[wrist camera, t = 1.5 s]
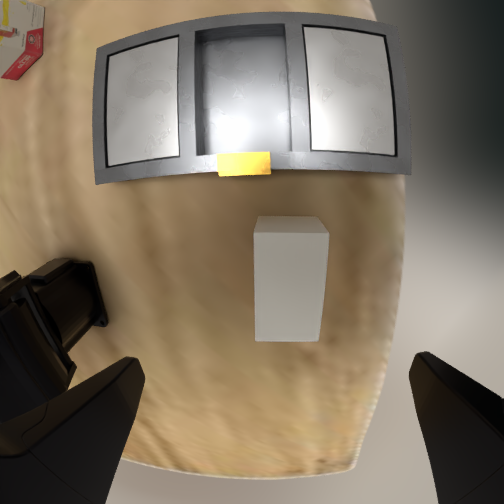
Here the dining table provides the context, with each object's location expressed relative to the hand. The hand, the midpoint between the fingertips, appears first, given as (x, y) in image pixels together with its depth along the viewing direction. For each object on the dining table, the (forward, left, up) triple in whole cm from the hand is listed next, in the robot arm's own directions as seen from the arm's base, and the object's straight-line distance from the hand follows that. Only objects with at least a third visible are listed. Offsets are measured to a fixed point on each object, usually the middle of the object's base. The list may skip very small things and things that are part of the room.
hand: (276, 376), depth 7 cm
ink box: (+24, +25, -13) cm, 37 cm away
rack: (+11, +2, -12) cm, 16 cm away
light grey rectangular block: (-1, -1, -12) cm, 12 cm away
